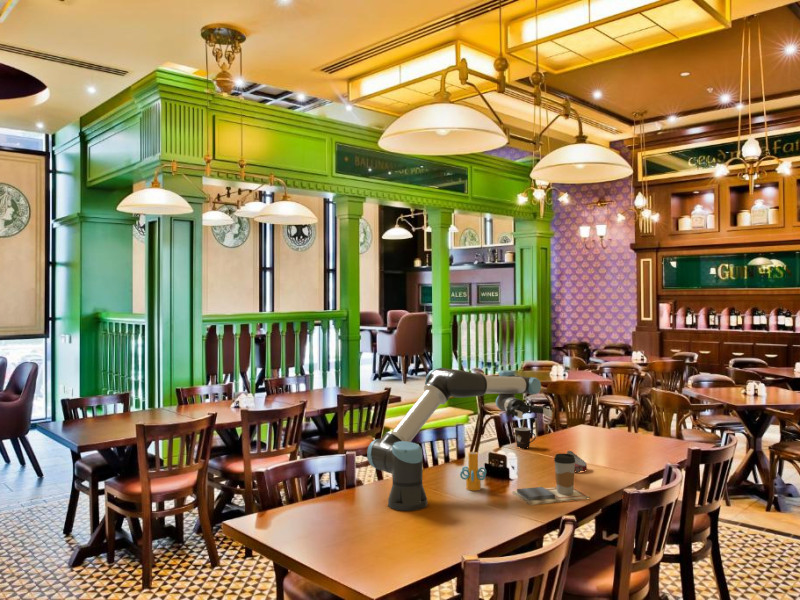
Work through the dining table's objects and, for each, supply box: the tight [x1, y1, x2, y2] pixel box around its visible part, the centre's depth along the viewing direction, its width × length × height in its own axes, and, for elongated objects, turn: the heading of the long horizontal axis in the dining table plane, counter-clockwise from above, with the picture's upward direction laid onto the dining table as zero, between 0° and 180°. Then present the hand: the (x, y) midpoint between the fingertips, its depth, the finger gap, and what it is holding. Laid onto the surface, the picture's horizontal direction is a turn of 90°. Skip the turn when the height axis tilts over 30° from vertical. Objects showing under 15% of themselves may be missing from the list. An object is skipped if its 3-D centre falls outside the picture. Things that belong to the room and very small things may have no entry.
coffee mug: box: [514, 427, 537, 448], centre depth 341 cm, size 12×9×10 cm
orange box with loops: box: [459, 451, 487, 492], centre depth 268 cm, size 12×10×15 cm
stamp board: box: [511, 486, 591, 506], centre depth 257 cm, size 26×16×2 cm, turn 104°
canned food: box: [566, 450, 588, 472], centre depth 296 cm, size 11×10×10 cm
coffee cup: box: [553, 452, 575, 495], centre depth 258 cm, size 8×8×15 cm
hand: (536, 414), depth 272 cm, fingers open, 13 cm apart
